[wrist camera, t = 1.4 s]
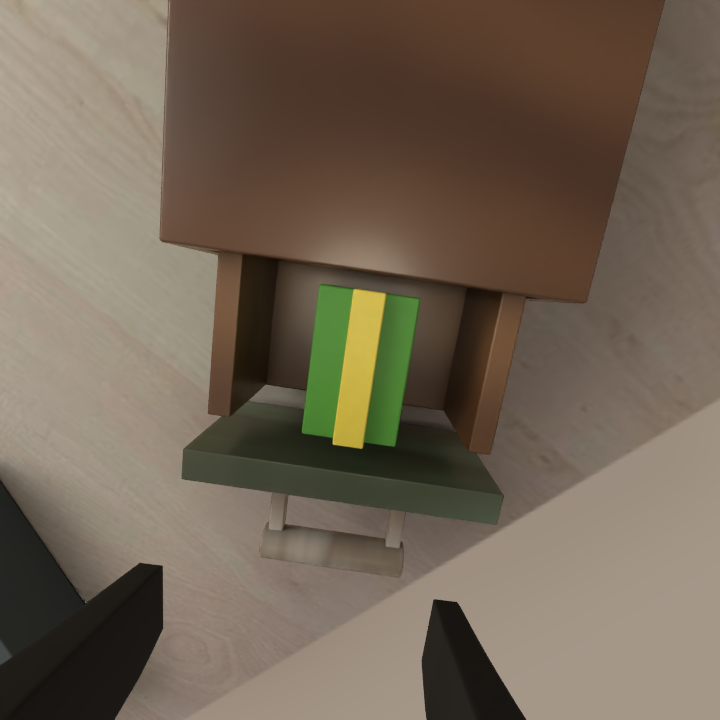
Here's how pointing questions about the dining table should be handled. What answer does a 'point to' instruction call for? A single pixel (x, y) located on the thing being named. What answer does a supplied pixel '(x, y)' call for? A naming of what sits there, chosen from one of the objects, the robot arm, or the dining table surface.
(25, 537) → the dark grey square tile
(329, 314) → the yellow-striped green block
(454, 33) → the cabinet
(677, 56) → the dining table surface
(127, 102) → the dining table surface
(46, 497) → the dining table surface
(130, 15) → the dining table surface
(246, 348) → the drawer
